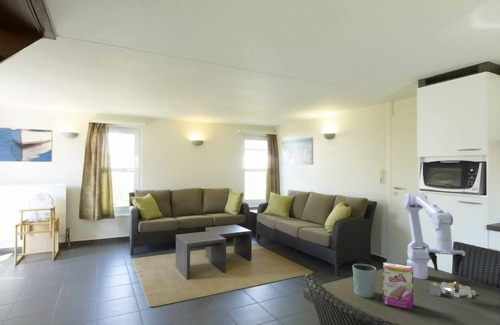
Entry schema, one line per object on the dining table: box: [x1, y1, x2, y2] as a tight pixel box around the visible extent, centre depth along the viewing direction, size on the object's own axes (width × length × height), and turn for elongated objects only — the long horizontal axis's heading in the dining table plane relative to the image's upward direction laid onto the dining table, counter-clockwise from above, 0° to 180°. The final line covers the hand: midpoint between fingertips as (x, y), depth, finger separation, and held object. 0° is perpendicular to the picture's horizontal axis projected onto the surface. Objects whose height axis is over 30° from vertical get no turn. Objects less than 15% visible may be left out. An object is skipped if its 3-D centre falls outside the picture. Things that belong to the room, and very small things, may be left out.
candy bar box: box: [382, 262, 414, 311], centre depth 119 cm, size 11×5×16 cm, turn 65°
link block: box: [429, 281, 442, 297], centre depth 128 cm, size 4×4×5 cm
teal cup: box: [352, 263, 377, 299], centre depth 130 cm, size 10×10×12 cm
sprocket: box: [439, 280, 476, 299], centre depth 130 cm, size 14×14×6 cm
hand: (446, 271), depth 125 cm, fingers open, 7 cm apart
